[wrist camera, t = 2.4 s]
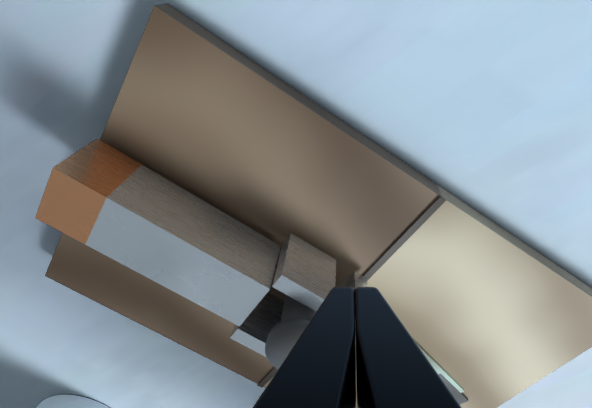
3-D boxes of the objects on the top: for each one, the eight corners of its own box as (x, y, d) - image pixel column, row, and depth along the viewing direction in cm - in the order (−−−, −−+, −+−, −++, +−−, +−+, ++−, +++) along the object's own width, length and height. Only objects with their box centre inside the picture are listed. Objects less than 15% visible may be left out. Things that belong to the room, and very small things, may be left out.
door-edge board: (409, 442, 27) (422, 544, 22) (59, 261, 23) (-19, 339, 18) (615, 304, 20) (699, 408, 15) (167, 3, 16) (87, 17, 11)
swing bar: (367, 278, 19) (370, 325, 16) (315, 330, 21) (311, 380, 18) (103, 121, 16) (59, 148, 14) (73, 197, 18) (29, 233, 16)
